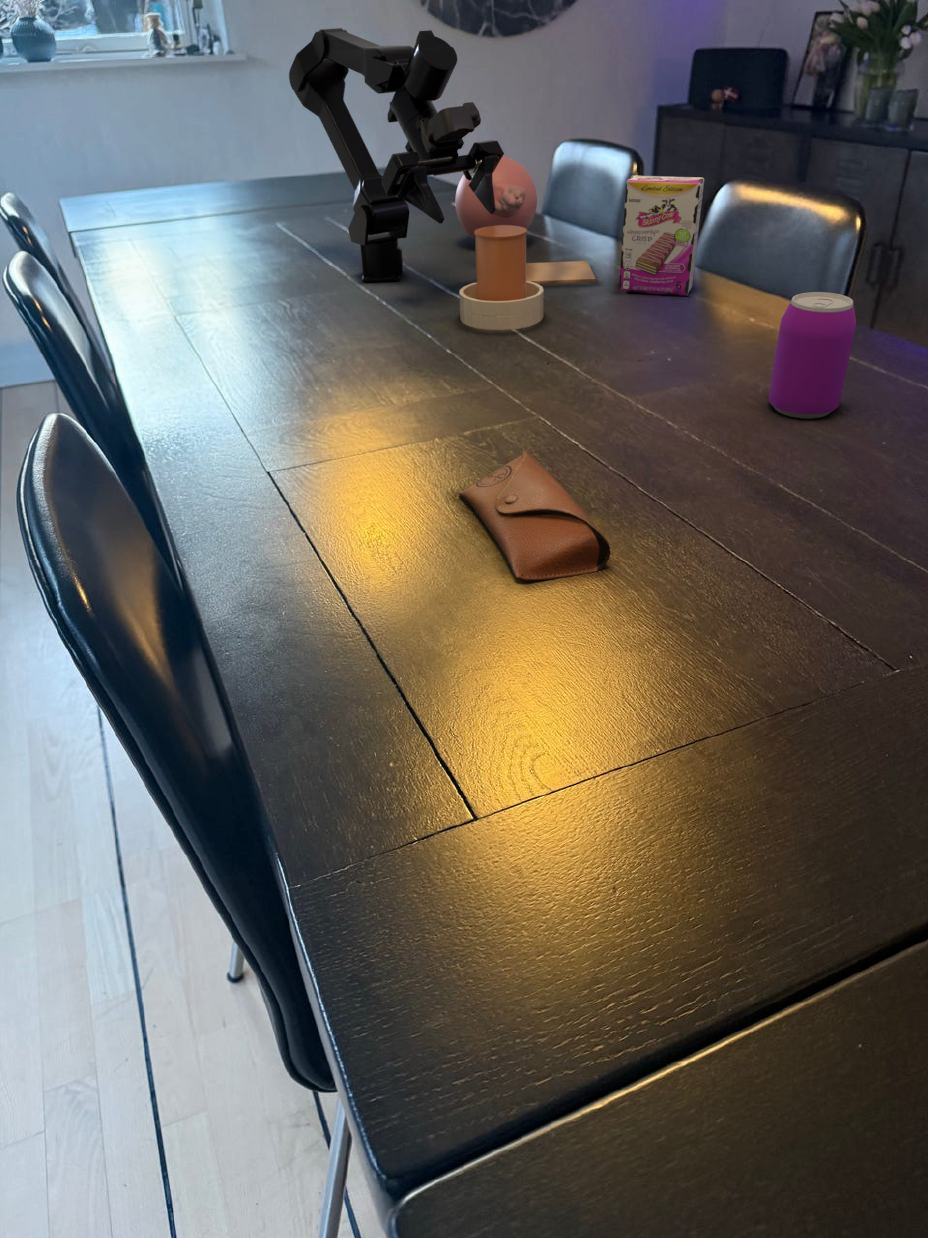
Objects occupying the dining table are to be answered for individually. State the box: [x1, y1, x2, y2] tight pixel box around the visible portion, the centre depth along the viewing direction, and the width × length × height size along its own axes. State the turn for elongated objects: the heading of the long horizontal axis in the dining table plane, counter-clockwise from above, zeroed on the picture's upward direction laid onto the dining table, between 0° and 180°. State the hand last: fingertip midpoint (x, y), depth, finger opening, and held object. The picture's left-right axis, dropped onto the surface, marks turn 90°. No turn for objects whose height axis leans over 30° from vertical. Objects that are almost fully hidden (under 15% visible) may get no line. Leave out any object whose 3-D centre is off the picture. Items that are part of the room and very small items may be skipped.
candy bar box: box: [618, 175, 705, 297], centre depth 138 cm, size 11×5×16 cm, turn 71°
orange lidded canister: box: [474, 225, 528, 301], centre depth 129 cm, size 7×7×12 cm
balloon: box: [454, 156, 538, 240], centre depth 167 cm, size 15×20×15 cm
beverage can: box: [768, 291, 857, 419], centre depth 98 cm, size 8×8×12 cm
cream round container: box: [459, 281, 545, 331], centre depth 132 cm, size 12×12×4 cm
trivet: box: [526, 260, 596, 285], centre depth 152 cm, size 12×12×1 cm
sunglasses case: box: [458, 448, 611, 582], centre depth 80 cm, size 18×7×7 cm, turn 18°
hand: (468, 216), depth 131 cm, fingers open, 9 cm apart
